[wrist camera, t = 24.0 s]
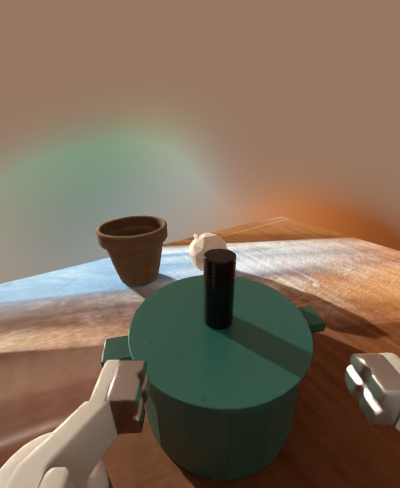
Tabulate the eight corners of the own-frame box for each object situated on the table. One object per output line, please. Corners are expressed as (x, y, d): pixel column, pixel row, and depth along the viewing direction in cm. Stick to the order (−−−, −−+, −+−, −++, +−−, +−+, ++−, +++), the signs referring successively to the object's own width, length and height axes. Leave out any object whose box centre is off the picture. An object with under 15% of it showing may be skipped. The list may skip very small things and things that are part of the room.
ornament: (213, 283, 41) (184, 247, 40) (200, 276, 48) (175, 246, 47) (241, 256, 43) (215, 221, 41) (225, 253, 50) (202, 223, 48)
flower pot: (105, 268, 47) (95, 218, 43) (162, 258, 50) (158, 211, 46) (107, 302, 37) (95, 242, 33) (178, 286, 41) (175, 230, 37)
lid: (359, 391, 15) (394, 300, 12) (123, 451, 13) (98, 351, 10) (259, 275, 28) (265, 218, 26) (133, 292, 26) (124, 230, 23)
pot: (354, 445, 19) (386, 371, 16) (108, 518, 16) (80, 443, 12) (273, 327, 32) (281, 271, 28) (123, 353, 28) (111, 292, 25)
